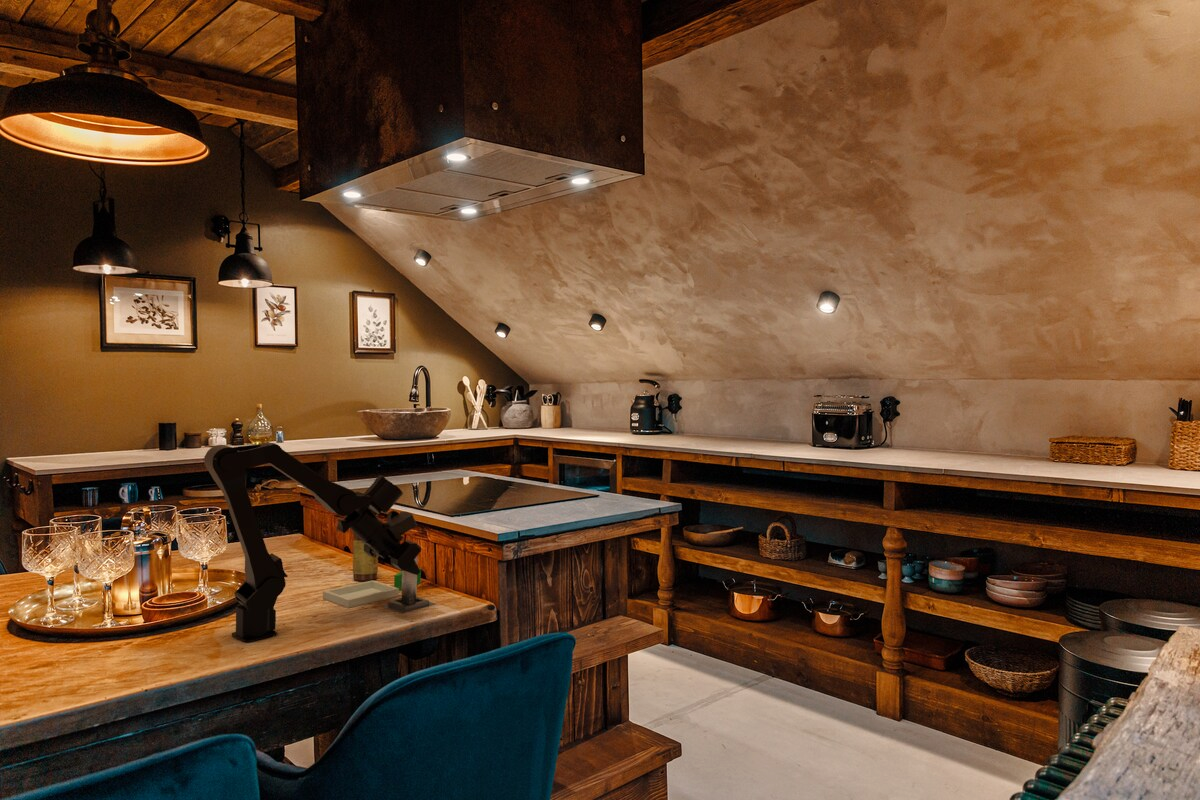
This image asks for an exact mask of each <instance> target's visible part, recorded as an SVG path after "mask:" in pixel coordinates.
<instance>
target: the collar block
mask: <svg viewBox="0 0 1200 800" xmlns="http://www.w3.org/2000/svg"><path fill="white" fill-rule="evenodd" d="M436 605H437V603H435V602H431V601H430V600H428V599H425V598H423V597H419V596H417V598H416V603H412V604H408V605H405V604H402V603H401V597H398V598H393V599H390V600H388V601H387V604H383V605H380V606H379V607H381V608H383V609H387V610H389V611H392V612H396V613H397V612H398V613H397V614H400V613H402V614H405V613H408V612H409V613H410V612H413V611H417V610H421V609H425V608H428V607H432V606H436Z"/></svg>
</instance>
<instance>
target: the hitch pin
mask: <svg viewBox="0 0 1200 800" xmlns="http://www.w3.org/2000/svg"><path fill="white" fill-rule="evenodd" d="M416 543H417V544H418V545H419V546H420V545H421V544H420V543H418V542H416ZM420 547H421V546H420ZM418 555H419V554H418ZM418 555H417V557H416V558H415V559H414V560H415V562H416V564H417V565H418V558H419V557H418ZM401 571H402V570H401ZM417 589H418V584H417V575H415V574H412V573H409V572H406V571H402V589H401V590H400V591H401V595H400V598H401V603H402V604H405V605H408V604H412V603H416V598H417V597H418V595H417V592H418V591H417Z"/></svg>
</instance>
